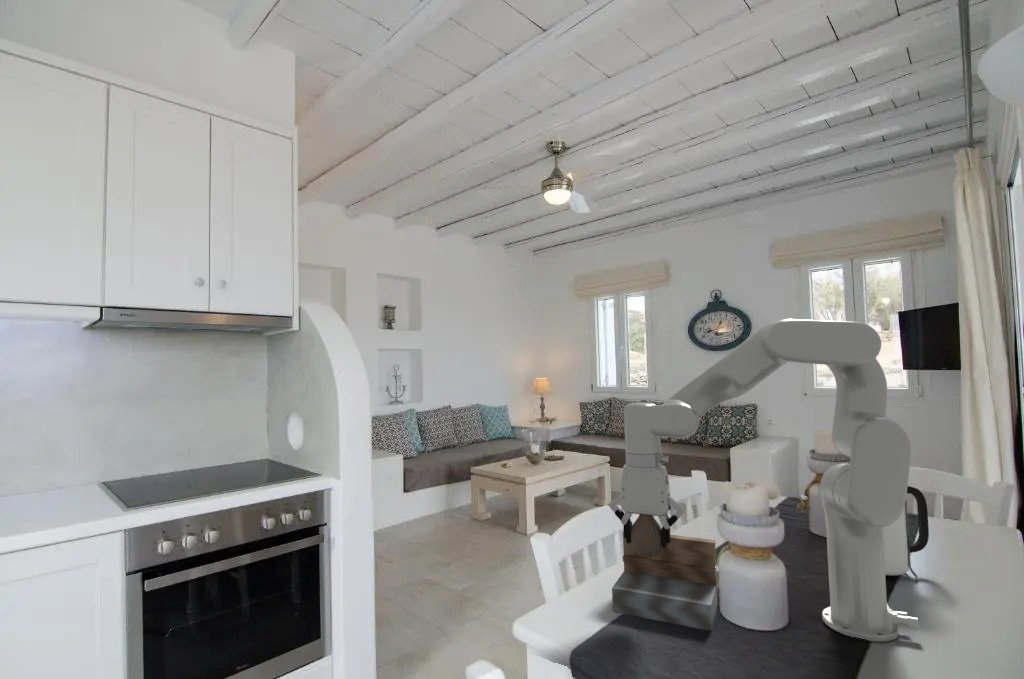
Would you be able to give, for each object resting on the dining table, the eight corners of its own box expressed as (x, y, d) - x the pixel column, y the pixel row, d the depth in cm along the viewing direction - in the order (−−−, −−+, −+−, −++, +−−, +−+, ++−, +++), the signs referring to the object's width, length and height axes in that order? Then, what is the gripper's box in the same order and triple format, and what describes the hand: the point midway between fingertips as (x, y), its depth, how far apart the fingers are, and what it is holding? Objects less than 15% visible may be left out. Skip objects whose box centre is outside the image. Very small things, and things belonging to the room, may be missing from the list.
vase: (665, 561, 107) (663, 518, 107) (631, 559, 108) (629, 517, 109) (662, 549, 114) (660, 508, 114) (630, 548, 115) (628, 508, 115)
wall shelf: (718, 605, 113) (715, 540, 113) (712, 631, 102) (708, 558, 103) (627, 589, 122) (625, 529, 122) (612, 611, 111) (610, 545, 112)
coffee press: (915, 593, 116) (907, 458, 118) (835, 573, 128) (828, 451, 130) (932, 571, 128) (924, 449, 129) (856, 554, 140) (850, 443, 141)
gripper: (687, 459, 111) (691, 543, 111) (609, 455, 119) (612, 533, 118) (682, 465, 105) (686, 555, 104) (599, 461, 112) (602, 544, 112)
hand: (647, 543), depth 111 cm, fingers closed on vase, 7 cm apart
